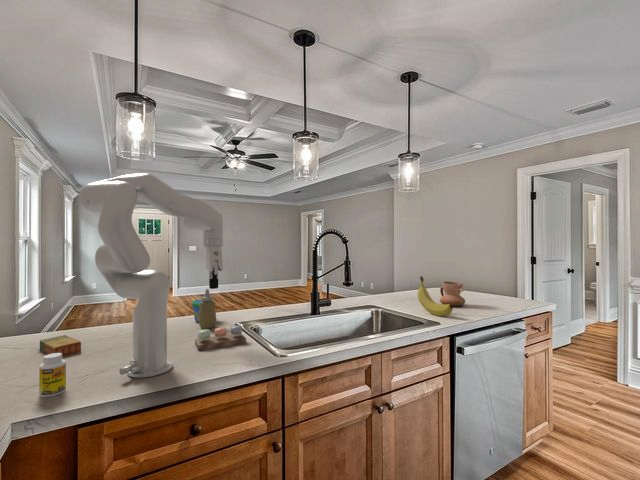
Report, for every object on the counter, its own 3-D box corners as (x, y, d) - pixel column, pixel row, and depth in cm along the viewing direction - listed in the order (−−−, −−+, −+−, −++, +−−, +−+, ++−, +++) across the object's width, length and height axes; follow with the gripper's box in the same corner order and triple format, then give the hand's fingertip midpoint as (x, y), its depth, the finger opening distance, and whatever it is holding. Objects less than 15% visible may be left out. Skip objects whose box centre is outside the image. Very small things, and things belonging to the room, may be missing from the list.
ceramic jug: (472, 307, 196) (472, 283, 196) (453, 309, 191) (453, 284, 191) (450, 302, 213) (450, 280, 213) (432, 303, 208) (432, 281, 208)
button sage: (198, 339, 123) (198, 333, 123) (197, 336, 127) (197, 330, 127) (211, 337, 125) (211, 331, 125) (209, 334, 129) (209, 328, 129)
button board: (198, 350, 121) (198, 344, 121) (194, 344, 129) (194, 338, 129) (246, 343, 129) (246, 337, 129) (240, 337, 137) (240, 332, 137)
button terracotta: (215, 337, 126) (215, 330, 126) (213, 334, 130) (213, 328, 130) (227, 335, 128) (227, 329, 128) (225, 332, 132) (225, 326, 132)
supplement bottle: (38, 400, 84) (37, 360, 84) (40, 392, 89) (40, 354, 89) (65, 394, 87) (65, 356, 87) (66, 386, 92) (66, 350, 92)
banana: (456, 318, 169) (456, 279, 169) (448, 319, 166) (448, 280, 166) (422, 310, 189) (422, 275, 189) (415, 311, 186) (415, 276, 186)
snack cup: (211, 324, 159) (211, 303, 159) (188, 325, 157) (188, 304, 157) (215, 317, 174) (215, 297, 174) (195, 317, 172) (194, 298, 172)
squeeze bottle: (210, 330, 148) (210, 290, 148) (194, 329, 150) (194, 290, 150) (219, 325, 156) (219, 288, 156) (204, 324, 158) (204, 287, 158)
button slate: (232, 334, 129) (232, 328, 129) (229, 332, 133) (229, 326, 133) (243, 333, 131) (243, 327, 131) (240, 330, 135) (240, 324, 135)
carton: (53, 359, 114) (53, 347, 114) (38, 350, 123) (38, 339, 123) (81, 352, 121) (81, 341, 121) (65, 344, 130) (65, 334, 130)
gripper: (227, 243, 128) (227, 290, 128) (218, 242, 141) (219, 285, 141) (207, 243, 124) (207, 291, 124) (200, 243, 137) (200, 286, 137)
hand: (213, 288), depth 132 cm, fingers closed
